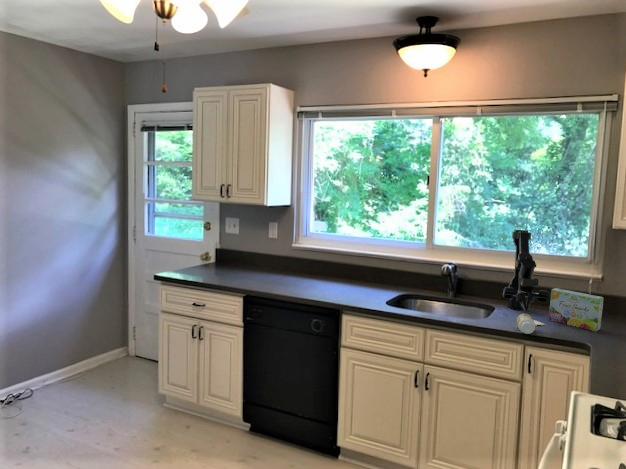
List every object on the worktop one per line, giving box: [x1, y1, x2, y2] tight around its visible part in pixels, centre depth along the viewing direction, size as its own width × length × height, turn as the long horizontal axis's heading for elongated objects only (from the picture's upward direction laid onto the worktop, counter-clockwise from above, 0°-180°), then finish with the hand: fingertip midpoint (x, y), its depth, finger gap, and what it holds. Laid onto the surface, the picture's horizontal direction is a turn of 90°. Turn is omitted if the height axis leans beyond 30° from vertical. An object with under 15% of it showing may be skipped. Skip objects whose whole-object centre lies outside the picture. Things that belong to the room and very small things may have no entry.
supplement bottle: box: [516, 313, 536, 335], centre depth 232 cm, size 7×7×13 cm
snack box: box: [548, 287, 604, 332], centre depth 245 cm, size 21×6×15 cm, turn 45°
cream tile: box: [533, 319, 546, 327], centre depth 245 cm, size 6×6×1 cm
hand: (526, 311), depth 237 cm, fingers closed
